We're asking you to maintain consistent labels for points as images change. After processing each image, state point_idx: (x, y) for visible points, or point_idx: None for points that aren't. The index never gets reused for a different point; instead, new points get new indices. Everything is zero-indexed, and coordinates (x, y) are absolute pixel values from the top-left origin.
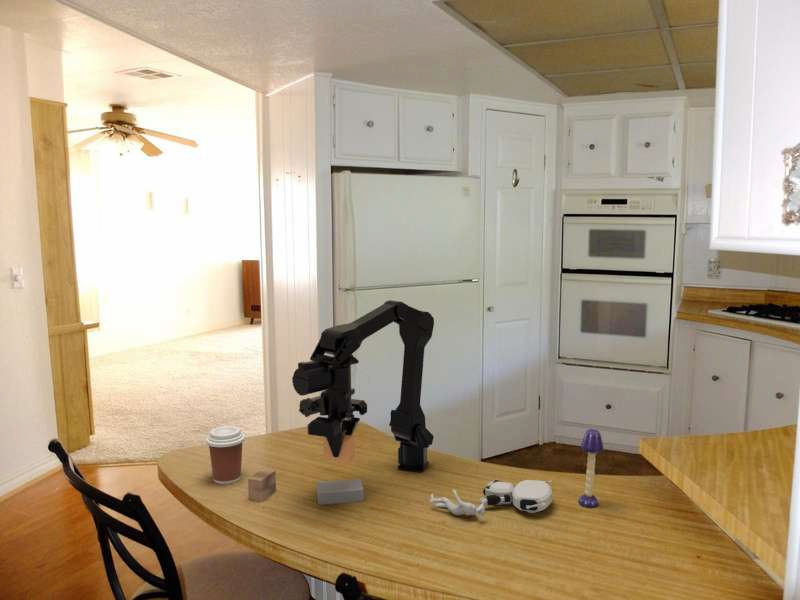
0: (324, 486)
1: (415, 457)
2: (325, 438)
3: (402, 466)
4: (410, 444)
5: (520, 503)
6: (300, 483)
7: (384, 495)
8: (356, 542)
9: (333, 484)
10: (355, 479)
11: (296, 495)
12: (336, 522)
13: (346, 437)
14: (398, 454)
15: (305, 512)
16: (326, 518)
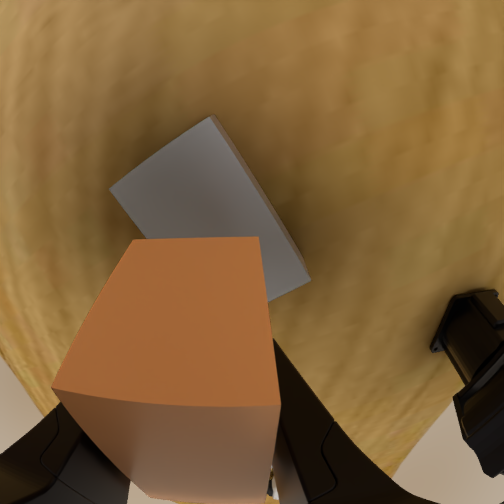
0: (178, 176)
1: (456, 359)
2: (64, 403)
3: (457, 308)
4: (480, 374)
5: (269, 487)
6: (280, 8)
7: (280, 332)
8: (46, 343)
9: (216, 203)
10: (298, 267)
11: (163, 50)
12: (71, 280)
13: (208, 493)
14: (486, 311)
15: (65, 166)
16: (70, 246)
